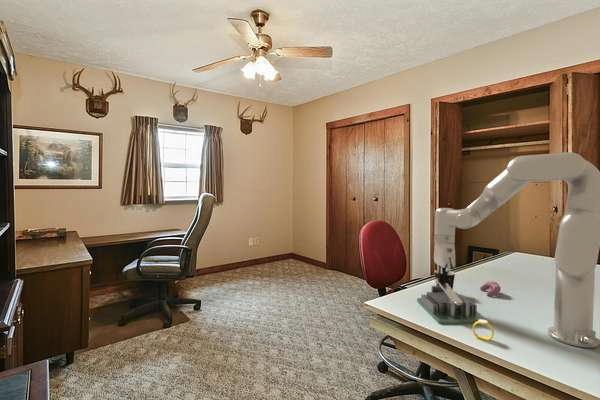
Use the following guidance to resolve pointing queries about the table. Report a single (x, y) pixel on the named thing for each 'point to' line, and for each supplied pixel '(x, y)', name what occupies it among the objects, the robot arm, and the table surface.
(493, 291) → the video game controller
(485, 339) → the watch
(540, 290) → the table surface
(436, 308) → the heat sink base
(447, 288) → the steel strap
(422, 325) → the table surface
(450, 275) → the coffee mug
